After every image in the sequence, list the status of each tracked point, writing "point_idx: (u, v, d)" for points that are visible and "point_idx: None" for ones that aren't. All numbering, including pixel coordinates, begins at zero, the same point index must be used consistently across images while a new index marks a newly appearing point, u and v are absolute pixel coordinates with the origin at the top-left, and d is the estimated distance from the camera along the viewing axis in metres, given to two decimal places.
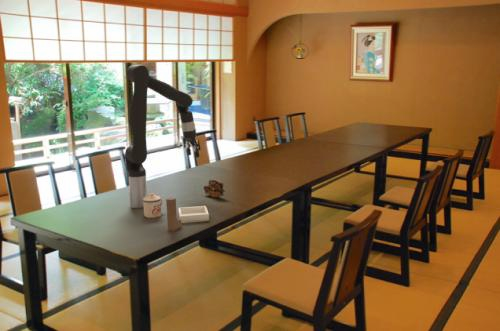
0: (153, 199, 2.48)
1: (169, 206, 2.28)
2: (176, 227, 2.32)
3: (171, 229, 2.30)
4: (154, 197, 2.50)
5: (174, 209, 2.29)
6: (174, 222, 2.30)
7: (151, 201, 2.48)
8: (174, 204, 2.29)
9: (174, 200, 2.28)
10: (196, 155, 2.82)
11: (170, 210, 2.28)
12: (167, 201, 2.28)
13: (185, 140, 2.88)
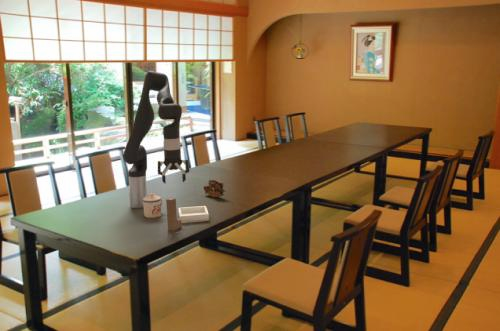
0: (153, 199, 2.48)
1: (169, 206, 2.28)
2: (176, 227, 2.32)
3: (171, 229, 2.30)
4: (154, 197, 2.49)
5: (174, 209, 2.29)
6: (174, 222, 2.30)
7: (151, 201, 2.48)
8: (174, 204, 2.29)
9: (174, 200, 2.28)
10: None
11: (170, 210, 2.28)
12: (167, 201, 2.28)
13: None
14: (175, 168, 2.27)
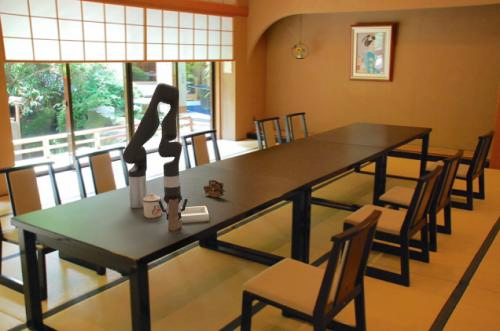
0: (153, 199, 2.48)
1: (172, 206, 2.27)
2: (176, 227, 2.32)
3: (171, 229, 2.30)
4: (154, 197, 2.50)
5: (176, 209, 2.29)
6: (175, 222, 2.30)
7: (151, 201, 2.48)
8: (176, 204, 2.28)
9: (177, 200, 2.28)
10: None
11: (172, 210, 2.28)
12: (170, 201, 2.27)
13: (183, 200, 2.32)
14: None
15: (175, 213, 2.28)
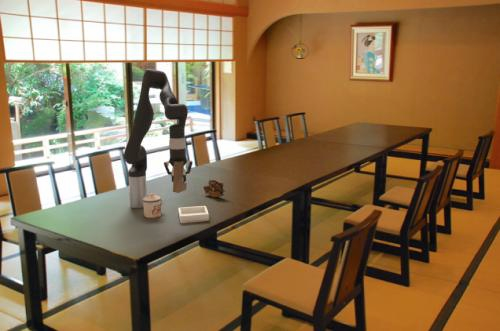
0: (153, 199, 2.48)
1: (177, 168, 2.30)
2: (181, 190, 2.34)
3: (176, 191, 2.33)
4: (154, 197, 2.50)
5: (181, 171, 2.31)
6: (180, 184, 2.32)
7: (151, 201, 2.48)
8: (181, 167, 2.31)
9: (182, 163, 2.30)
10: None
11: (177, 172, 2.30)
12: (175, 163, 2.30)
13: (188, 163, 2.34)
14: None
15: (180, 175, 2.31)
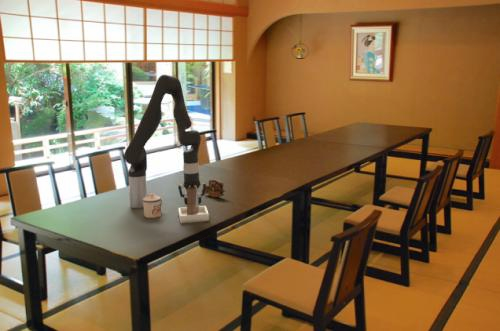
0: (153, 199, 2.48)
1: (190, 195, 2.41)
2: None
3: None
4: (154, 197, 2.50)
5: (194, 198, 2.43)
6: (193, 210, 2.44)
7: (151, 201, 2.48)
8: (195, 193, 2.42)
9: (195, 190, 2.41)
10: None
11: (191, 199, 2.41)
12: (188, 191, 2.40)
13: None
14: None
15: (193, 201, 2.43)
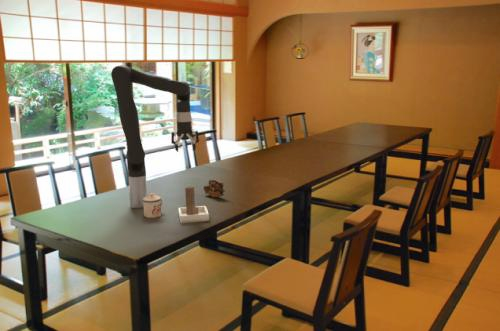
0: (153, 199, 2.48)
1: (188, 194, 2.43)
2: None
3: None
4: (154, 197, 2.50)
5: (193, 197, 2.44)
6: (193, 209, 2.45)
7: (151, 201, 2.48)
8: (193, 192, 2.44)
9: (193, 189, 2.44)
10: None
11: (189, 198, 2.43)
12: (186, 190, 2.43)
13: None
14: (186, 138, 2.60)
15: (192, 201, 2.44)
